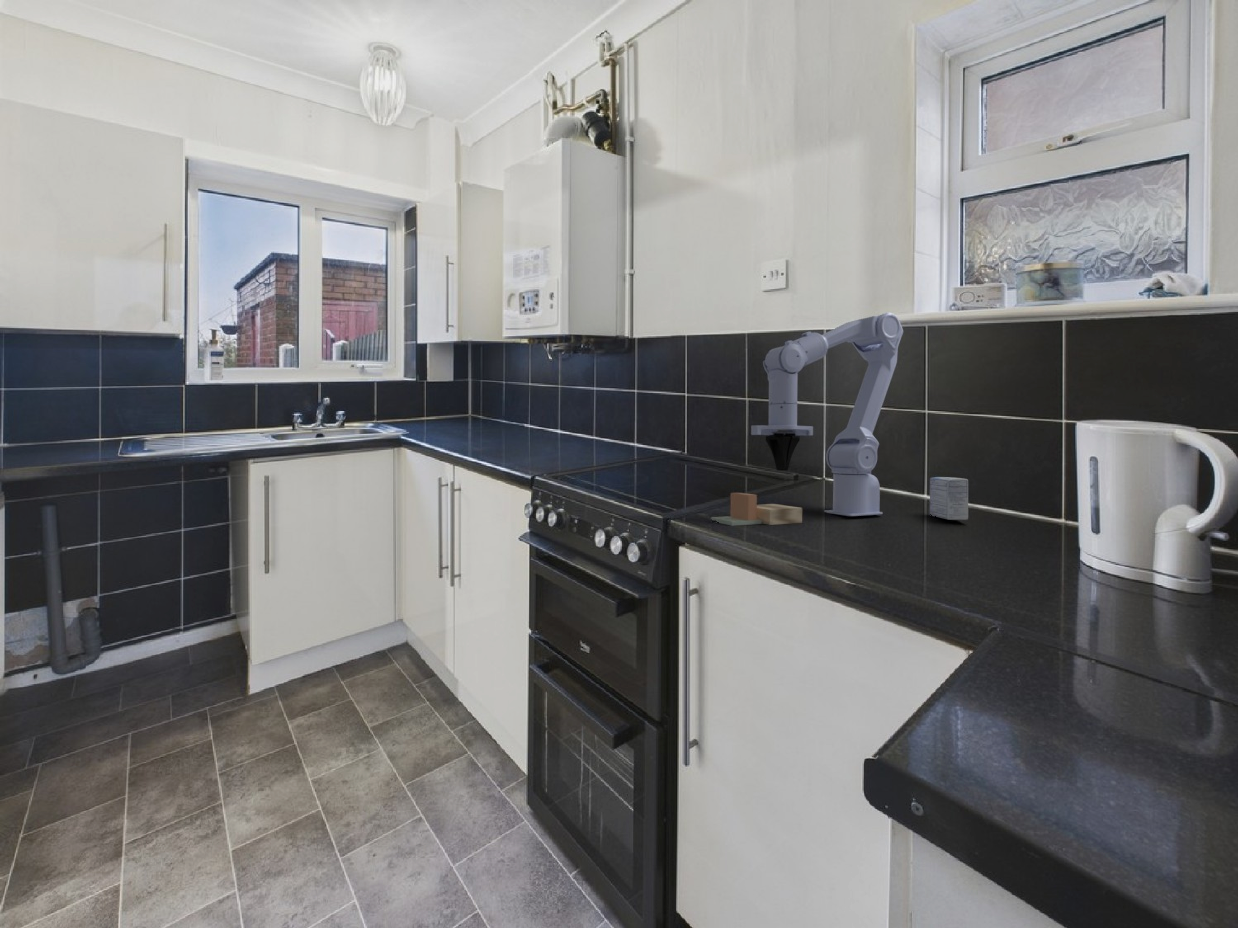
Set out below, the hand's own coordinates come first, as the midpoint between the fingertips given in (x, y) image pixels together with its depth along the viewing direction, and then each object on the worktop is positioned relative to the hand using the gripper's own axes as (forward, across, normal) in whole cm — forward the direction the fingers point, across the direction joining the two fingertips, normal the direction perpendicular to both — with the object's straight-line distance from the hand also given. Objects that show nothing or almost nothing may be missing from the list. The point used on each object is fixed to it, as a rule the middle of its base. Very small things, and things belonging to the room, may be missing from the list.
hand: (782, 470), depth 126 cm
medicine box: (+11, -36, +11) cm, 39 cm away
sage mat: (+10, +11, -1) cm, 15 cm away
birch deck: (+10, +3, 0) cm, 11 cm away
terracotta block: (+7, +9, 0) cm, 11 cm away
